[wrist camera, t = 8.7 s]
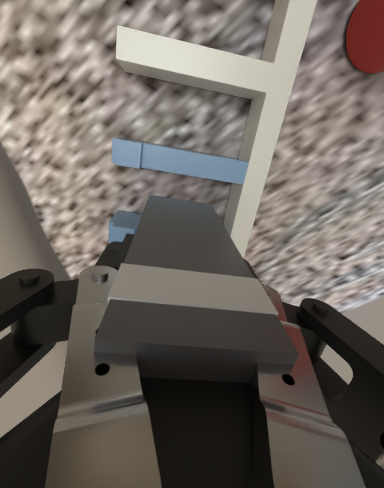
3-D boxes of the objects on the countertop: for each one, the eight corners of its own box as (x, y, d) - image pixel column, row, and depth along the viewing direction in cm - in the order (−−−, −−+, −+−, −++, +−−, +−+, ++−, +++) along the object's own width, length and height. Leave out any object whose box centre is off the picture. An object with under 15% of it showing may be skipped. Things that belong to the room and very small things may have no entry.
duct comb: (305, -26, 20) (344, -74, 16) (234, 243, 30) (246, 262, 25) (133, -78, 18) (120, -150, 14) (116, 227, 28) (105, 245, 23)
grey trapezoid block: (212, 203, 16) (302, 352, 5) (200, 259, 17) (249, 464, 6) (149, 194, 15) (91, 337, 4) (143, 252, 17) (89, 464, 6)
